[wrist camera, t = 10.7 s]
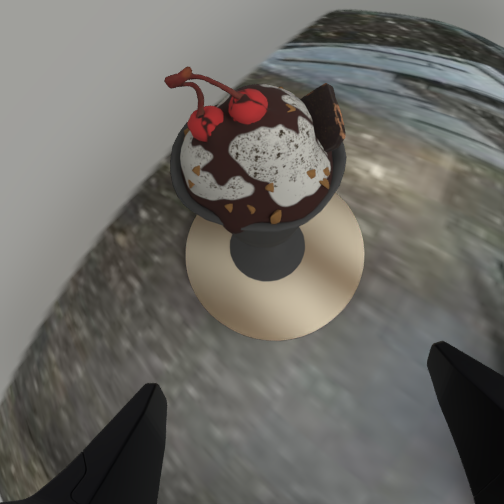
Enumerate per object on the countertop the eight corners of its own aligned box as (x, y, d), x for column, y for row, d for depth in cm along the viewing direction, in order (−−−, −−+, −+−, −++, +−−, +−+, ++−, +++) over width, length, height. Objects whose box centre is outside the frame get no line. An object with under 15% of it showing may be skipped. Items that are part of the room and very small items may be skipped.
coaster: (330, 365, 19) (333, 365, 18) (164, 303, 21) (158, 299, 20) (375, 206, 22) (379, 198, 21) (228, 163, 25) (226, 154, 24)
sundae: (202, 278, 20) (70, 118, 6) (237, 191, 22) (189, -7, 8) (300, 309, 19) (355, 168, 5) (328, 215, 21) (378, 13, 7)
